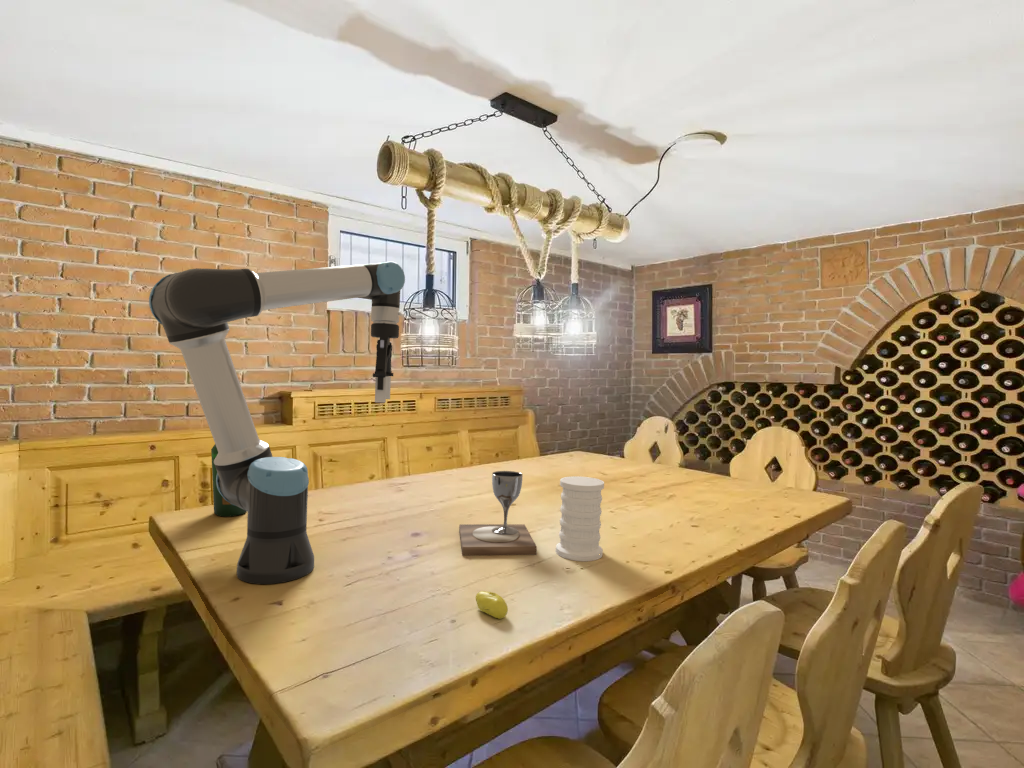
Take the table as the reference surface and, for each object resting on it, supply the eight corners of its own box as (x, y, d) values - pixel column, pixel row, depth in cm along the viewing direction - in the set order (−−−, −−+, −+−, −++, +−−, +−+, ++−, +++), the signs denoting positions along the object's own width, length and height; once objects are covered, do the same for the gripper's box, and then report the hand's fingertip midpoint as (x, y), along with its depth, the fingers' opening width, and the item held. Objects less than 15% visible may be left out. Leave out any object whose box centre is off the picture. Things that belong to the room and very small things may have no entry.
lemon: (494, 625, 94) (495, 603, 94) (469, 608, 101) (470, 587, 100) (513, 619, 97) (514, 598, 97) (488, 602, 103) (488, 582, 103)
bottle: (239, 519, 149) (241, 419, 148) (201, 517, 149) (203, 417, 148) (258, 509, 160) (260, 415, 159) (223, 507, 160) (225, 414, 159)
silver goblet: (489, 525, 144) (491, 470, 144) (518, 526, 145) (521, 471, 144) (490, 534, 136) (492, 476, 136) (521, 535, 137) (524, 477, 136)
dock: (536, 554, 130) (536, 544, 130) (462, 555, 128) (462, 545, 128) (524, 531, 148) (524, 522, 148) (459, 531, 146) (459, 523, 146)
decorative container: (599, 564, 126) (602, 488, 125) (551, 557, 129) (554, 483, 128) (605, 548, 137) (608, 478, 136) (560, 542, 140) (563, 474, 139)
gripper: (395, 320, 135) (393, 404, 136) (402, 327, 160) (399, 398, 160) (365, 318, 134) (362, 403, 134) (376, 325, 158) (374, 397, 159)
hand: (382, 400), depth 147 cm, fingers open, 13 cm apart
